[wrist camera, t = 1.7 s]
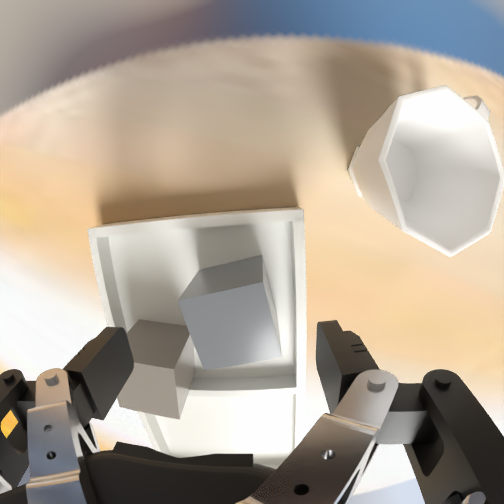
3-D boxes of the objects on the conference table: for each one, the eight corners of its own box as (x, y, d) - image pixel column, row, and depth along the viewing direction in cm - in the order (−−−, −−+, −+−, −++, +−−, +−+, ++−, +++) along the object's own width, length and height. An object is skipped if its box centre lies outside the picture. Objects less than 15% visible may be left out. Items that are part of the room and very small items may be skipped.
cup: (303, 169, 17) (339, 156, 9) (398, 76, 15) (464, 31, 7) (377, 249, 18) (445, 292, 10) (459, 153, 16) (539, 148, 8)
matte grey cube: (262, 254, 17) (262, 281, 12) (277, 313, 18) (282, 356, 13) (199, 269, 18) (177, 300, 13) (217, 326, 19) (204, 370, 14)
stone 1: (193, 326, 19) (174, 369, 14) (195, 373, 19) (179, 419, 15) (138, 319, 19) (107, 356, 14) (144, 365, 20) (119, 406, 15)
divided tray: (298, 206, 17) (303, 209, 15) (298, 460, 22) (299, 475, 21) (102, 224, 18) (87, 229, 16) (171, 458, 23) (166, 472, 21)
